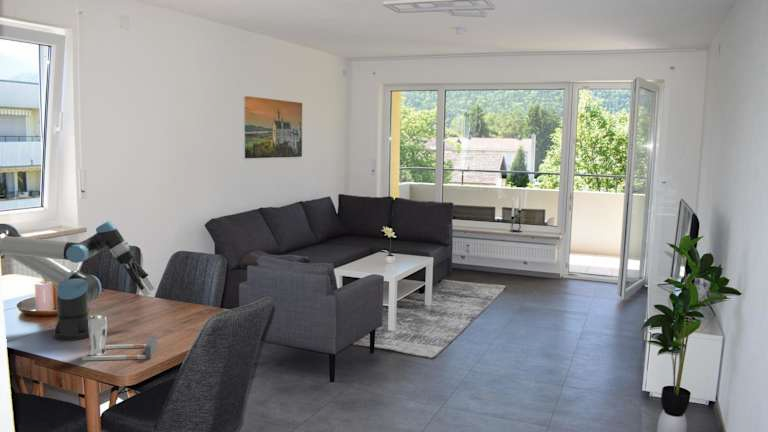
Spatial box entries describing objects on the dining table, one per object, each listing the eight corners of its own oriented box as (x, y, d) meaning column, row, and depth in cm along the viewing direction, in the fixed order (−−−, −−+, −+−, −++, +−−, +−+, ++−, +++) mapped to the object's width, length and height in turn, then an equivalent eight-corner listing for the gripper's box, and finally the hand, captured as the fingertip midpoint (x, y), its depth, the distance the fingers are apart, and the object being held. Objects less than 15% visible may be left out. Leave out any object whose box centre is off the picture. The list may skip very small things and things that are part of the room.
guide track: (82, 360, 244) (82, 347, 244) (92, 348, 258) (92, 336, 258) (150, 358, 249) (150, 346, 248) (156, 346, 263) (156, 334, 262)
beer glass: (110, 351, 256) (109, 314, 254) (103, 357, 249) (102, 319, 247) (93, 350, 255) (92, 314, 253) (85, 356, 248) (84, 319, 247)
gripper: (124, 251, 272) (153, 292, 276) (135, 245, 297) (161, 283, 300) (109, 261, 271) (137, 302, 275) (121, 254, 296) (147, 292, 299)
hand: (150, 292), depth 287 cm, fingers open, 13 cm apart
